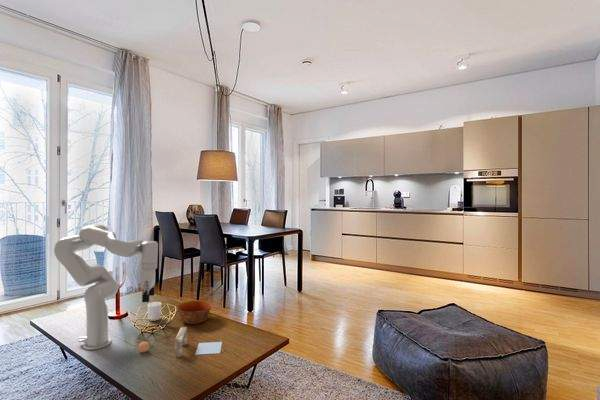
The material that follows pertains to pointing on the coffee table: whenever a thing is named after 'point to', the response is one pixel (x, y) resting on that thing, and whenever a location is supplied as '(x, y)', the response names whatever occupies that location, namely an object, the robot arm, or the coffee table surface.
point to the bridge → (180, 341)
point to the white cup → (154, 310)
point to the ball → (143, 347)
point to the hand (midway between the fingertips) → (148, 298)
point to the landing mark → (209, 348)
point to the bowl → (194, 311)
